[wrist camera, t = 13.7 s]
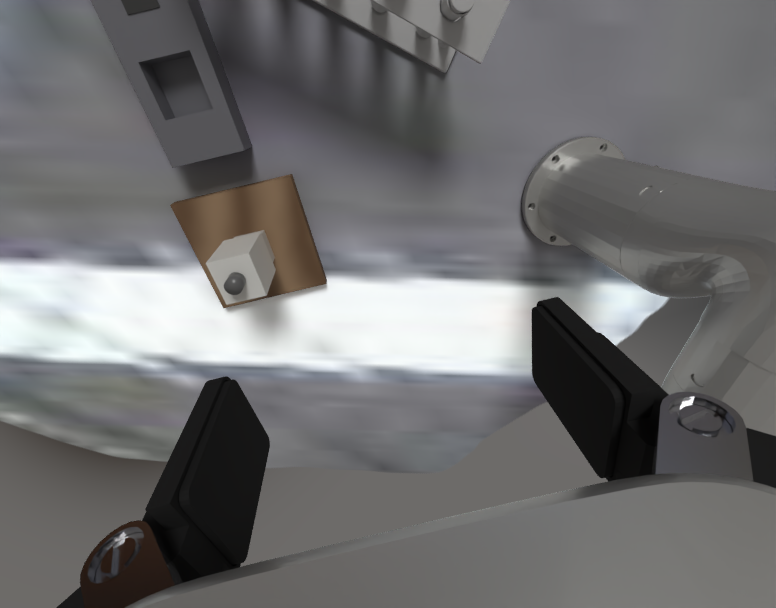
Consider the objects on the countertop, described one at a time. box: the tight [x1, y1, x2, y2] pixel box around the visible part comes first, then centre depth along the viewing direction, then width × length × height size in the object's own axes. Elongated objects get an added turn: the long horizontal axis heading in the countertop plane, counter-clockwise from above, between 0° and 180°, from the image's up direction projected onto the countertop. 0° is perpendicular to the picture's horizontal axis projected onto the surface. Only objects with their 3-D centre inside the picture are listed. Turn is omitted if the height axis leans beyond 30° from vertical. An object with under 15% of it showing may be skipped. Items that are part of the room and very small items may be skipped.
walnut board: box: [170, 174, 327, 308], centre depth 42 cm, size 13×13×1 cm
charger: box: [206, 230, 276, 305], centre depth 37 cm, size 4×4×10 cm
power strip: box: [91, 0, 252, 168], centre depth 30 cm, size 7×22×4 cm, turn 12°
